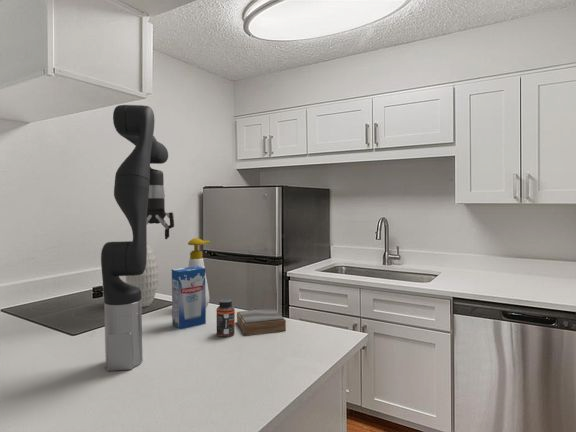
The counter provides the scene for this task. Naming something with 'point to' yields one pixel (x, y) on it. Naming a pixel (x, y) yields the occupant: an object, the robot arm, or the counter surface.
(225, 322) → the supplement bottle
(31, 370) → the counter surface
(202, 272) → the milk carton
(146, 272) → the vase
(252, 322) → the walnut block
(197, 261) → the soap bottle
